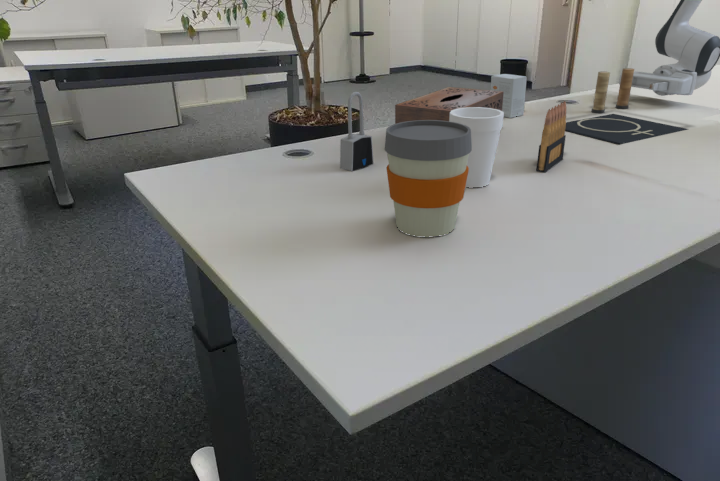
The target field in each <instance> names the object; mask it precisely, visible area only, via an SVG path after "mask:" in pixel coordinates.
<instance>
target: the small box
mask: <svg viewBox="0 0 720 481" xmlns="http://www.w3.org/2000/svg"><path fill="white" fill-rule="evenodd" d="M490 78H491V79H490V90H491V91H503V92H504V94H503V106H502V112H504V118H509V119H511V118H516V116H517V117H520V116H524V114H525V104H526V90H527V79H528V77H527V76H525V75H517V74H511V73H500V74H494V75H491V77H490Z"/></svg>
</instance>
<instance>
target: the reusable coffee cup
mask: <svg viewBox="0 0 720 481" xmlns="http://www.w3.org/2000/svg"><path fill="white" fill-rule="evenodd" d="M471 151H472V142H471V129H470V128H469V127H468V126H466V125H463V124H460V123H456V122H450V121H440V120H416V121H406V122H401V123H397V124H395V123H394V124H391V125H389V126H388V127H387V128H386V130H385V138H384V152H386V154H387V162H388V164H387V165H386V175H387V183H388V190H389V198H390V199H391V200H392V201H393V207H394V216H395V223H396V228H397V227H398V228H397V230H398V229H399V230H401V231H403V232H404V233H407V234H410V235H415V236H425V237H429V236H439V235H444V234H447V233H449V232H451V231H452V230H453V229H454V228H455V229H456V223H457V218H458V213H459V207H460V202H462V201H463V199H464V196H465V191H466V187H465V186H466V181H467V176H468V171H469V168H468V166H467V161H468V155H469V153H470V152H471ZM455 229H454V230H455ZM399 230H398V231H399ZM454 230H453V231H454ZM453 231H452V232H453ZM452 232H451V233H452ZM404 233H403V234H404ZM449 234H450V233H449ZM447 235H448V234H447ZM444 236H445V235H444Z"/></svg>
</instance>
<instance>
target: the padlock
mask: <svg viewBox="0 0 720 481" xmlns="http://www.w3.org/2000/svg"><path fill="white" fill-rule="evenodd" d="M354 97H358V104H359V105H358V107H359V131H358V132H359V133H353V126H352V125H353V122H352V120H353V118H352V117H353V116H352V102H353V99H354ZM363 102H364V101H363V96H362V94H361V93H360V92H359V91H354V92H352V93H350V95H349V96H348V98H347V125H348V126H347V127H348V128H347V130H348V134H347V135H346V136H344V137H342V138H340V142H339V143H340V145H339V146H340V147H339V148H340V149H339V168H340V169H341V170H345V171H349V172H355V171H358V170H361V169H366V168H367V167H369V166H372V165H373V164H374V151H373V150H374V149H373V148H374V147H373V136H372V135H368V134H365V130H364V103H363Z"/></svg>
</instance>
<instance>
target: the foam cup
mask: <svg viewBox="0 0 720 481" xmlns="http://www.w3.org/2000/svg"><path fill="white" fill-rule="evenodd" d="M504 118H505V117H504V112H502V111H500V110H497V109H492V108H483V107H466V108H458V109H454V110H451V112H450V116H449V121H450V122H456V123H460V124H463V125H466V126H468V127H469V128H470V129H471V142H472V151H471V152H470V153H469V155H468V161H467V166H468V168H469V171H468V176H467V181H466V186H465V188H466V187H469V188H468V189H474V188H473V187H482V188H484V187H483V186H486V185H488V184H489V185H490V181H491V178H492V171H493V167H494V163H495V158H496V154H497V149H498V145H499V140H500V135H501V130H502V129H503V127H504ZM489 185H488V186H489ZM486 187H487V186H486Z"/></svg>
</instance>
